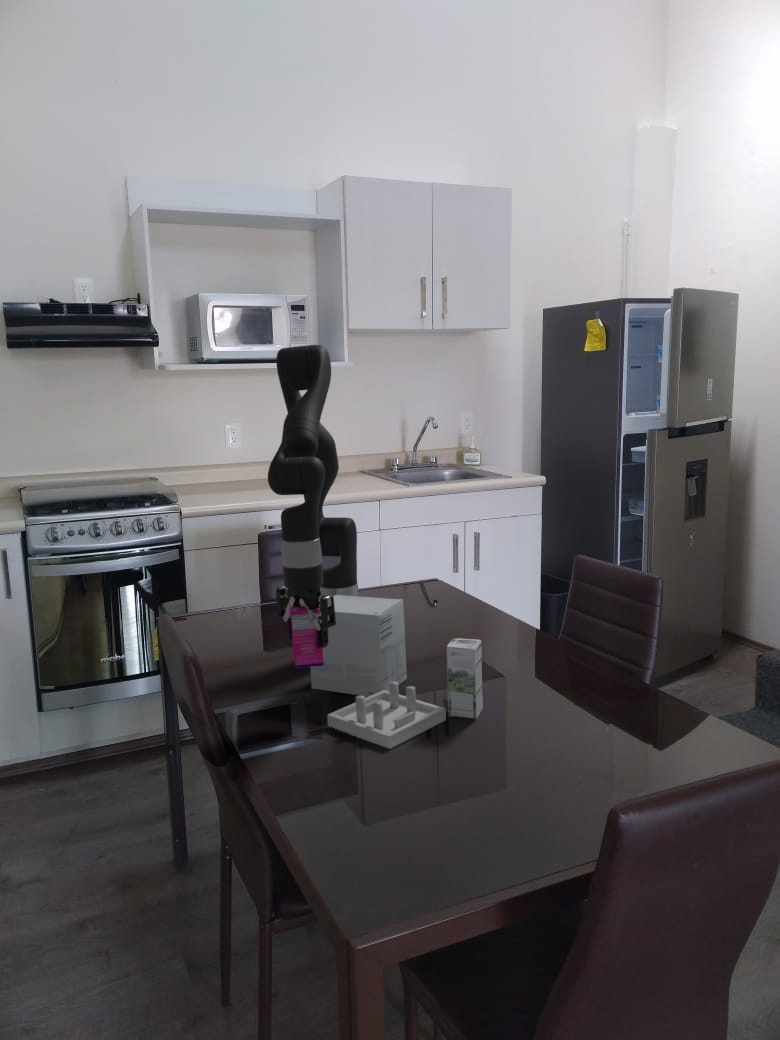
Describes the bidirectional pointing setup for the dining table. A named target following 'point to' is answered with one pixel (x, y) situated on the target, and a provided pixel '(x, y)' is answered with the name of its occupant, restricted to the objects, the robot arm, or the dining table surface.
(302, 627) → the supplement box
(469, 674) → the syrup box
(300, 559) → the robot arm
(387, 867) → the dining table surface
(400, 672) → the supplement box
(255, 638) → the dining table surface
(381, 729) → the tray
